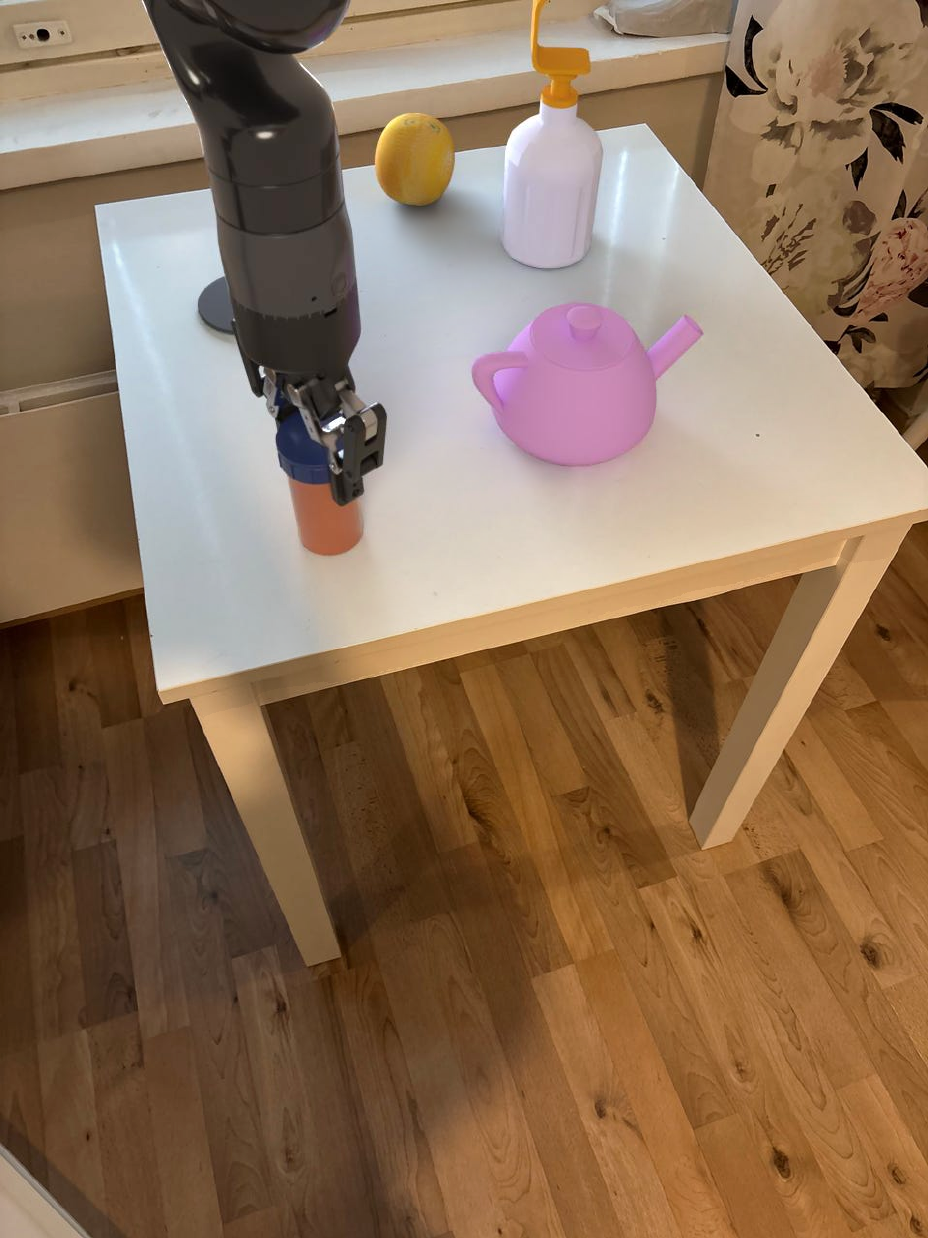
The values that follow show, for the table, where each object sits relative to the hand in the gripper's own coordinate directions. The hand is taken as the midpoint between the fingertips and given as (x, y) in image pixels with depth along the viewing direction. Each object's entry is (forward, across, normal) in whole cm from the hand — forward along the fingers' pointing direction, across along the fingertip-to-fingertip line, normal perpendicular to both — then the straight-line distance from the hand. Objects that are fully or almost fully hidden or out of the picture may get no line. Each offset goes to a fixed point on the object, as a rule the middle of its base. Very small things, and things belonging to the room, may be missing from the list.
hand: (322, 473), depth 69 cm
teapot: (+7, +4, +24) cm, 25 cm away
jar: (+6, 0, 0) cm, 6 cm away
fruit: (+6, -31, +35) cm, 47 cm away
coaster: (+6, -28, +11) cm, 30 cm away
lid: (-3, 0, 0) cm, 3 cm away
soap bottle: (+7, -16, +39) cm, 43 cm away
